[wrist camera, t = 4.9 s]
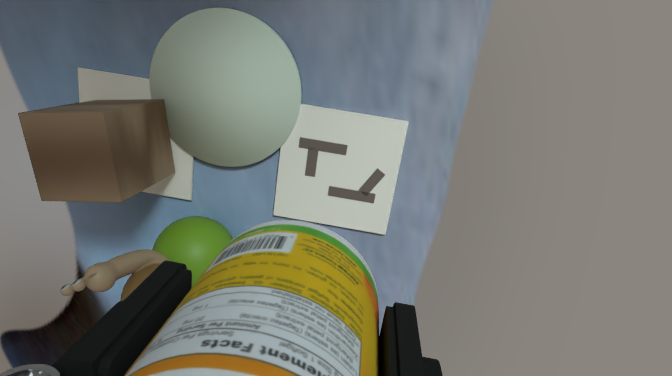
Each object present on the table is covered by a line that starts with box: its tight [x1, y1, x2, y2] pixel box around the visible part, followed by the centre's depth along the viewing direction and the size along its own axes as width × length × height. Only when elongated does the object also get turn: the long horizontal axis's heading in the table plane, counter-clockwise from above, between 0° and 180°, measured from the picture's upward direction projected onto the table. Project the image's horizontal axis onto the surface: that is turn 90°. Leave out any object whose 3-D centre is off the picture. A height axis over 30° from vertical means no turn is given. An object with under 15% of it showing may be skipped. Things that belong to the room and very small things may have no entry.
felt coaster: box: [149, 8, 302, 167], centre depth 27 cm, size 10×10×1 cm
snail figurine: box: [61, 216, 233, 301], centre depth 25 cm, size 5×6×12 cm
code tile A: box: [273, 104, 409, 235], centre depth 28 cm, size 8×8×1 cm
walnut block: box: [18, 99, 175, 203], centre depth 25 cm, size 5×5×6 cm
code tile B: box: [78, 67, 194, 200], centre depth 28 cm, size 8×8×1 cm
